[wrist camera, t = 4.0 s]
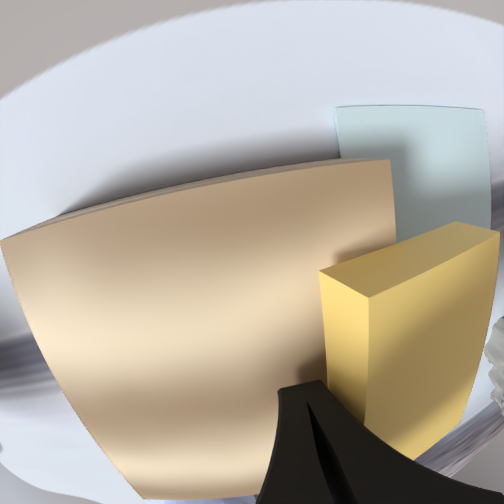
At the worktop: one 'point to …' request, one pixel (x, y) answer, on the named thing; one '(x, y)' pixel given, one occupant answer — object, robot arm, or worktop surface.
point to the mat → (424, 161)
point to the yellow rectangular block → (410, 332)
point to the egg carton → (497, 361)
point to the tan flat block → (196, 313)
